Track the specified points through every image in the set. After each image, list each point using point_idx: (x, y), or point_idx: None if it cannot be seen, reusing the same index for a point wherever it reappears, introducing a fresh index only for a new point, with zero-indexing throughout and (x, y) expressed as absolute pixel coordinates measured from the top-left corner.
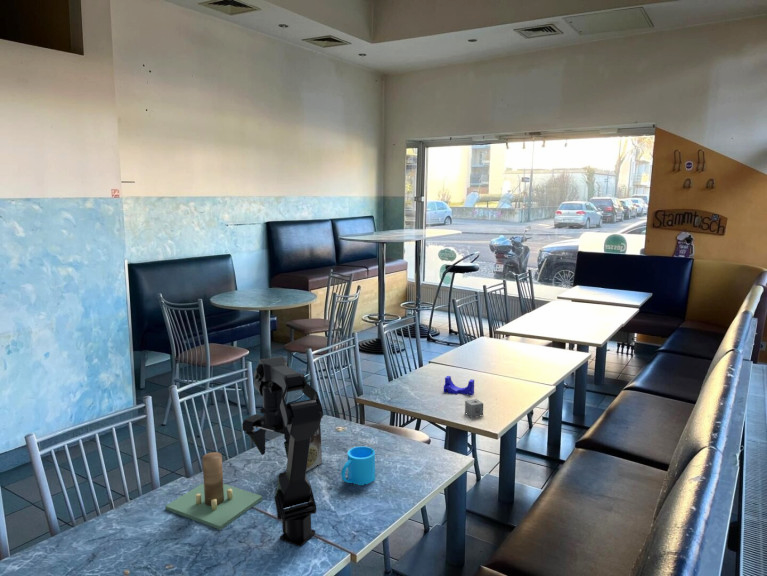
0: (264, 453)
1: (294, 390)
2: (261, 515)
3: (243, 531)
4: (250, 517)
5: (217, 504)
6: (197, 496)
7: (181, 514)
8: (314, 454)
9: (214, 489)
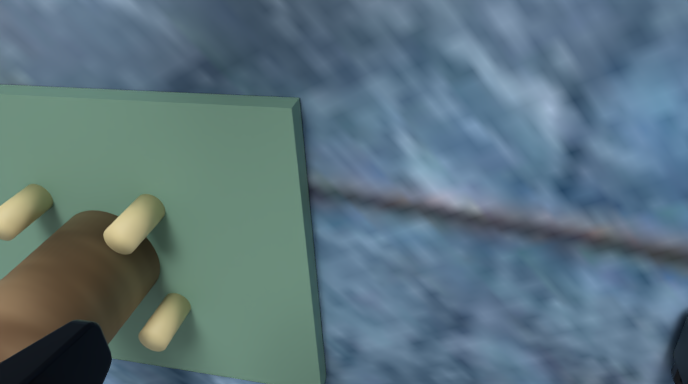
0: (97, 333)
1: None
2: (424, 238)
3: (433, 362)
4: (379, 270)
5: (156, 278)
6: None
7: None
8: None
9: None
